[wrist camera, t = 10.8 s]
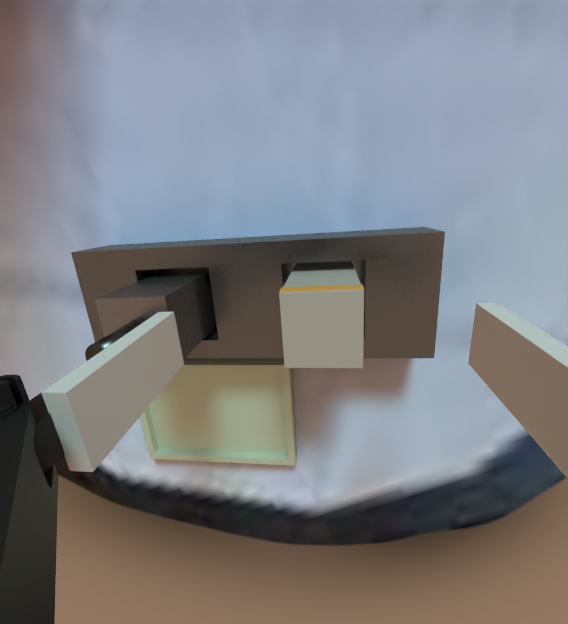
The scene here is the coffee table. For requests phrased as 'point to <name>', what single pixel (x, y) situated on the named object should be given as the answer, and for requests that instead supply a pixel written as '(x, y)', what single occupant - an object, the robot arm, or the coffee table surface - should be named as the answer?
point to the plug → (322, 317)
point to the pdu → (262, 289)
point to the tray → (224, 413)
